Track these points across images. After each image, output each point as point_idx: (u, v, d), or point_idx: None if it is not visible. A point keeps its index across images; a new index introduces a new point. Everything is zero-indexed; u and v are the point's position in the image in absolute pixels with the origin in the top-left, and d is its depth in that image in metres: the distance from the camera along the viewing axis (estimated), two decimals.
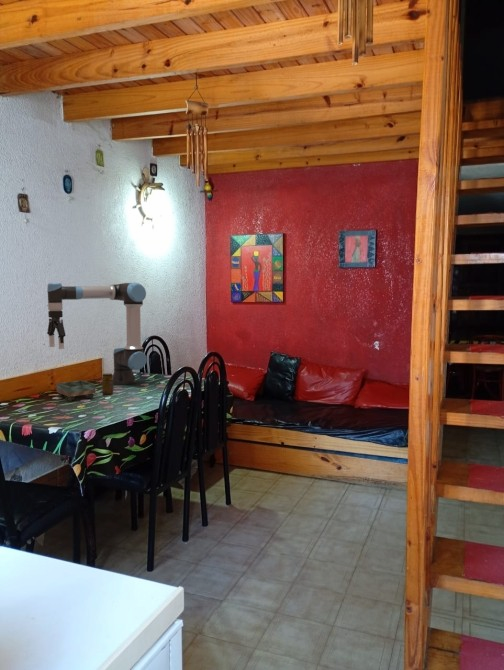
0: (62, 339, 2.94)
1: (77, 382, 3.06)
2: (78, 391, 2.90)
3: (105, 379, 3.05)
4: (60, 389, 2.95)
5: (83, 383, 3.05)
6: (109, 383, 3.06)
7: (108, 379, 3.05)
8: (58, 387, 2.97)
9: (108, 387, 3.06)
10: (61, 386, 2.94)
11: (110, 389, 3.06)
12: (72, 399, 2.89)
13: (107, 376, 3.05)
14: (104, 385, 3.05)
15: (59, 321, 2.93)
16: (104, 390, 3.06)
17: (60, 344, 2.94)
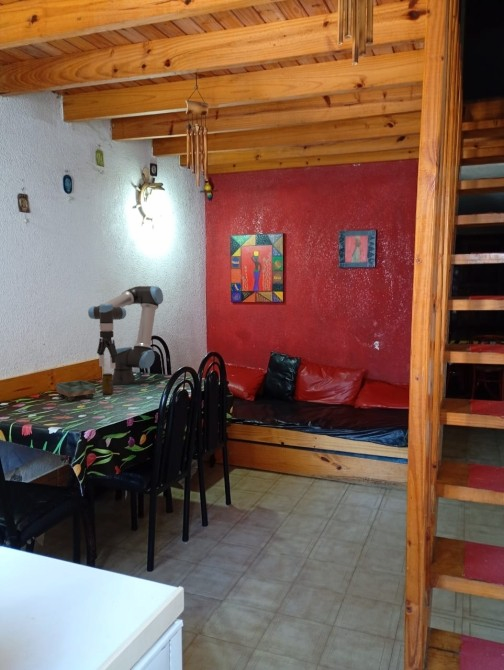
0: (114, 359, 3.00)
1: (77, 382, 3.06)
2: (78, 391, 2.90)
3: (105, 379, 3.05)
4: (60, 389, 2.95)
5: (83, 383, 3.05)
6: (109, 383, 3.06)
7: (108, 379, 3.05)
8: (58, 387, 2.97)
9: (108, 387, 3.06)
10: (61, 386, 2.94)
11: (110, 389, 3.06)
12: (72, 399, 2.89)
13: (107, 376, 3.05)
14: (104, 385, 3.05)
15: (111, 341, 2.99)
16: (104, 390, 3.06)
17: (112, 364, 3.00)
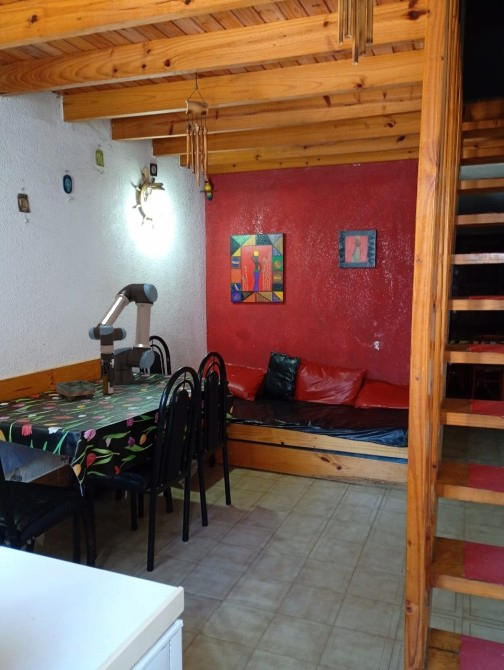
0: (112, 384, 3.04)
1: (77, 382, 3.06)
2: (78, 391, 2.90)
3: (105, 379, 3.04)
4: (60, 389, 2.95)
5: (83, 383, 3.05)
6: None
7: (108, 379, 3.05)
8: (58, 387, 2.97)
9: None
10: (61, 386, 2.94)
11: None
12: (72, 399, 2.89)
13: (107, 376, 3.04)
14: (104, 385, 3.05)
15: (111, 366, 3.01)
16: (104, 390, 3.05)
17: (110, 388, 3.04)
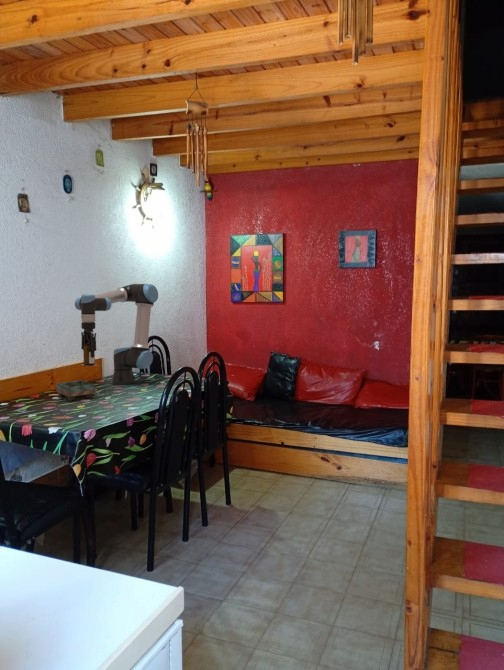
0: (93, 353, 2.96)
1: (77, 382, 3.06)
2: (78, 391, 2.90)
3: (86, 349, 2.97)
4: (60, 389, 2.95)
5: (83, 383, 3.05)
6: None
7: (89, 349, 2.97)
8: (58, 387, 2.97)
9: None
10: (61, 386, 2.94)
11: None
12: (72, 399, 2.89)
13: (88, 346, 2.97)
14: (85, 355, 2.97)
15: (92, 335, 2.94)
16: (85, 360, 2.97)
17: (90, 358, 2.97)
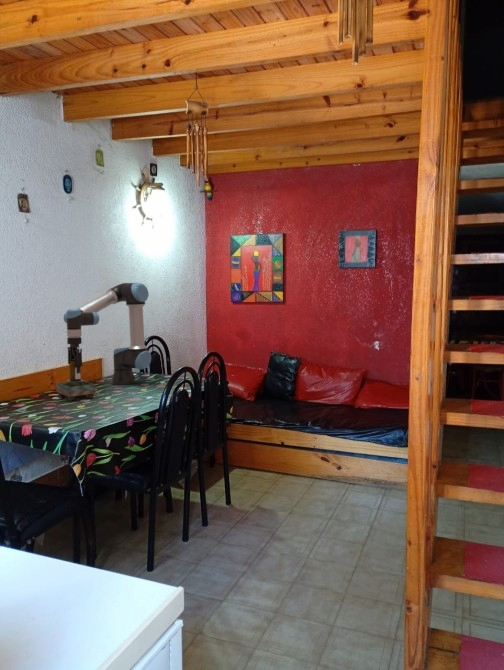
0: (79, 369, 2.93)
1: (77, 382, 3.06)
2: (78, 391, 2.90)
3: (72, 364, 2.94)
4: (60, 389, 2.95)
5: (83, 383, 3.05)
6: None
7: (75, 364, 2.94)
8: (58, 387, 2.97)
9: None
10: (61, 386, 2.94)
11: None
12: (72, 399, 2.89)
13: (74, 361, 2.94)
14: (71, 371, 2.94)
15: (78, 351, 2.90)
16: (71, 376, 2.94)
17: (77, 374, 2.94)
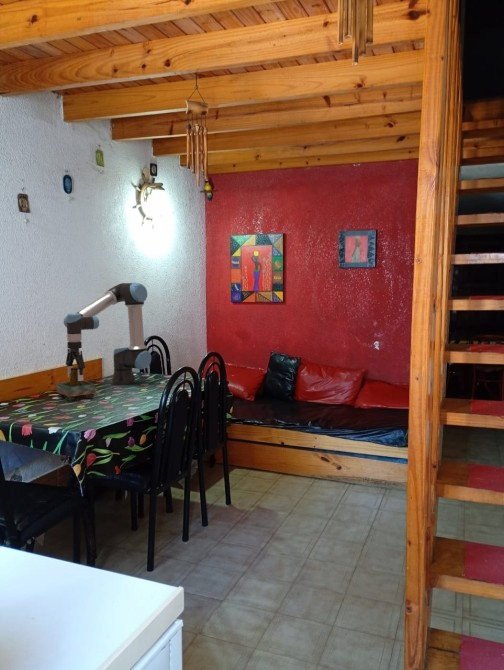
0: (81, 371, 2.91)
1: None
2: (78, 391, 2.90)
3: (73, 373, 2.94)
4: (60, 389, 2.95)
5: (83, 383, 3.05)
6: (77, 378, 2.95)
7: (76, 373, 2.94)
8: (58, 387, 2.97)
9: (76, 382, 2.94)
10: (61, 386, 2.94)
11: (78, 384, 2.95)
12: (72, 399, 2.89)
13: (75, 370, 2.94)
14: (72, 379, 2.94)
15: (78, 353, 2.90)
16: (72, 385, 2.95)
17: (79, 376, 2.91)
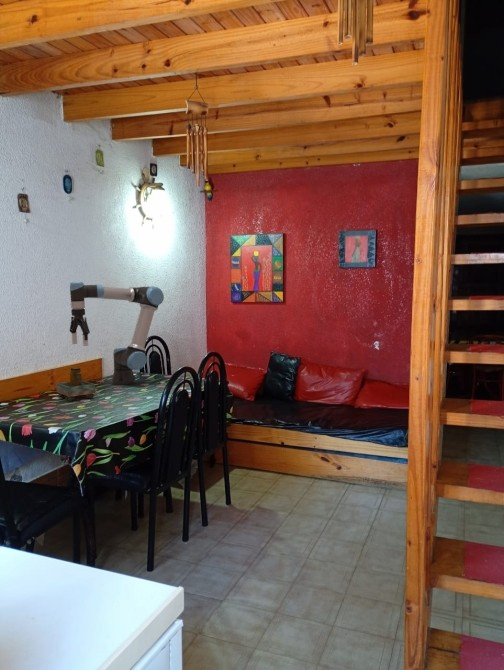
0: (86, 336, 3.04)
1: None
2: (78, 391, 2.90)
3: (73, 373, 2.94)
4: (60, 389, 2.95)
5: (83, 383, 3.05)
6: (77, 378, 2.95)
7: (76, 373, 2.94)
8: (58, 387, 2.97)
9: (76, 382, 2.94)
10: (61, 386, 2.94)
11: (78, 384, 2.95)
12: (72, 399, 2.89)
13: (75, 370, 2.94)
14: (72, 379, 2.94)
15: (83, 319, 3.03)
16: (72, 385, 2.95)
17: (84, 341, 3.04)
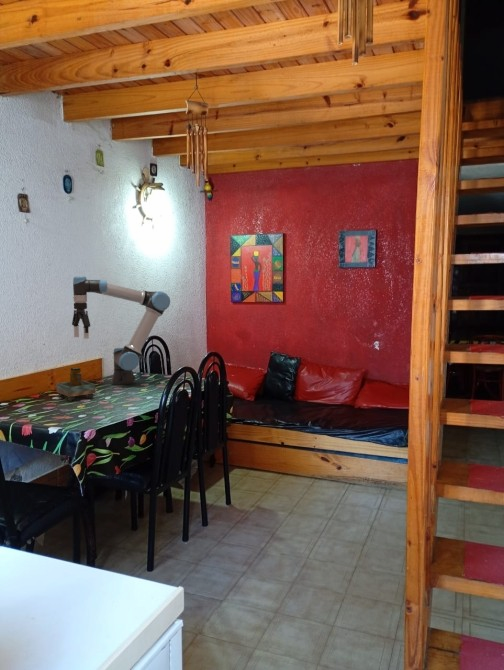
0: (87, 329, 3.12)
1: None
2: (78, 391, 2.90)
3: (73, 373, 2.94)
4: (60, 389, 2.95)
5: (83, 383, 3.05)
6: (77, 378, 2.95)
7: (76, 373, 2.94)
8: (58, 387, 2.97)
9: (76, 382, 2.94)
10: (61, 386, 2.94)
11: (78, 384, 2.95)
12: (72, 399, 2.89)
13: (75, 370, 2.94)
14: (72, 379, 2.94)
15: (84, 312, 3.12)
16: (72, 385, 2.95)
17: (85, 334, 3.13)
